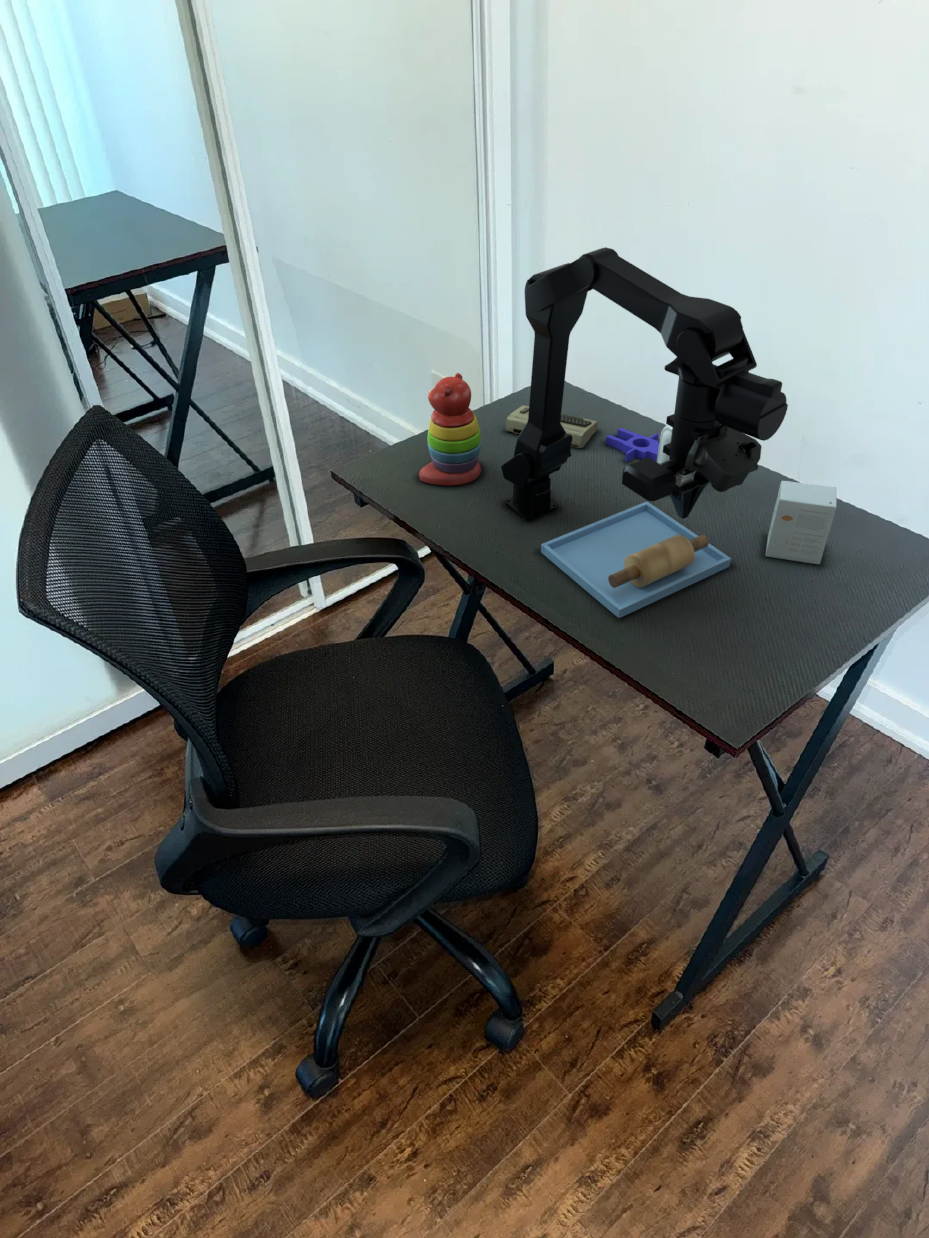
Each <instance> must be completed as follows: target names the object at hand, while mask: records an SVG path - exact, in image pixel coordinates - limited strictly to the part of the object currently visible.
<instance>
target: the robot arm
mask: <svg viewBox="0 0 929 1238" xmlns="http://www.w3.org/2000/svg"><path fill="white" fill-rule="evenodd" d="M592 290H594V291H596V292H597V293H598V294H601V295H602V296H603V297H605V298H607V299H608V300H610V301H611V302H613V303H614V304H616V305H617V306H619V307H621V308H623V310H625V311H627V312H629V313H630V314H632V315H633V316H635V317H636V318H638V319H639V320H641V321H643V322H644V323H646V324H647V325H649V326H651V327H652V328H654V329H655V330H656V331H657V332H658V333H659V334H660V335H661V337H662V340H663V342H664V345H665V347H666V348H667V349H668V350H669V351H670V352H671V353H672V354H673V355H674V356H675V358H674V359H673V360H672V361H671V362H668V363H667V364H665V365H664V367H663V368H664V371H666V372H668V373H670V374H673V375H676V376H678V379H677V380H678V381H677V389H676V397H675V404H674V405H675V406H674V413H673V414H672V413H671V414H670V415H667V416H666V420H665V425H666V426H667V425H669V426H671V427H673V428H672V436H671V443H669V444H666V445H663V453H665V454H666V455H668V456H670V458H669V459H670V460H668V461H665V462H662V463H660V464H659V463H657V462H656V461H654V460H652V459H651V458H649V457H648V458H646V459H643V460H642V459H639V460H638V461H636V462H633V463H630V464H628V465H626V466H625V467H624V468H622V469H623V470H622V478H621V485H623V486H624V487H626V488H627V489H628V490H630V491H632V492H633V493H635V494H637V495H638V496H640V497H641V498H643V499H644V500H646V502H656V501H659V500H661V499H663V498H666V497H668V496H669V497H670V500H671V502H672V504H673V507H674V509H675V512H676V515H677V516H678V517H679V518H680V519H681V520H684V519H688V517H689V515H690V514H691V512H692V510H693V508H694V507H695V505H696V503H697V502H698V500H699V498H700V496H701V495H702V493H703V492H704V490H705V488H706V487H707V486H708V484H710V485H711V488H712V489H713V490H715V491H716V492H719V493H725V492H727V491H728V490H730V489H732V488H734V487H736V486H741V485H743V484H744V482H745V480H746V479H747V477H748V476H749V474H751V473H753V472H755V471H758V469H759V462H760V461H761V457H762V456H761V455H762V444H761V443H759V441H763V442H765V441H768V440H770V438H773V436H774V435H775V434H776V433H777V432H778V430H779V429H780V427H781V426H782V424H783V422H784V419H785V418H786V415H787V411H788V408H789V407H788V406H789V404H788V403H787V402H788V401H787V395H786V393H784V392H782V388H783V382H782V381H781V380H778V379H775V378H767V377H764V376H760V375H758V374H755V373H752V372H750V371H752V370H753V369H755V368H757V367H758V363H757V361H756V358H755V356H754V354H753V351H752V348H751V346H750V343H749V341H748V338H747V336H746V333H745V330H744V326H743V322H742V315H741V314H740V313H739V311H738V310H736V309H735V308H734V307H732V306H731V305H728V304H725V303H723V302H719V301H717V300H714V299H711V298H706V297H699V296H690V295H687V294H684V293H681V292H680V291H678V290H676V289H674V288H673V287H672V286H669V285H668V284H666V283H664V282H663V281H662V280H660V279H658V278H656V277H654V276H653V275H651V274H650V273H648V272H646V271H644V270H642V269H641V268H639V267H638V266H636V265H635V264H633V263H631V262H630V261H628V260H626V259H624V258H623V257H621V256H619V254H618V252H617V251H616V250H615V249H614V248H610V247H606V246H605V247H601V248H598V249H595V250H592V251H589V252H586V253H583V254H582V255H580V256H579V258H577V259H575V260H573V261H572V262H567V263H564V264H563V263H562V264H561V265H558V266H555V267H552V268H548V269H546V270H543V271H540V272H537V273H534V274H533V275H532V276H530V277H529V278H528V279H527V280H526V282H525V284H524V308H525V309H524V311H525V317H526V319H527V321H528V322H529V324H530V326H531V328H532V330H533V332H534V333H533V334H534V338H533V351H532V365H531V376H530V378H531V379H530V390H529V391H530V392H529V402H528V403H529V405H528V406H529V416H528V421H527V423H526V425H525V427H524V428H523V430H522V432H521V431H520V434H518V436H517V438H516V443H515V448H514V452H513V456H512V457H511V459H509V460H507V461H506V462H504V464H502V465H501V466H500V468H501V469H500V470H501V473H502V477H503V479H504V480H506V481H508V482H509V483H511V484H512V497H511V498H508V499H506V500H505V505H507V507H509V508H510V509H511V510H513V511H514V513H516V514H517V515H519V516H520V517H521V518H522V519H523V520H525V521H528V520H529V521H530V520H532V519H534V518H537V517H540V516H542V515H545V514H547V513H550V512H553V511H555V510H557V509H558V505H557V504H556V503H555V502H553V501H552V489H551V482H552V478H550V475H551V474H553V473H555V472H559V471H561V468H562V466H563V465H564V464H566V463H567V461H568V459H569V458H571V457H572V452H571V451H572V449H571V447H572V446H571V443H572V439H573V438H572V435H570V434H567V433H566V431H565V430H564V428H563V426H562V425H561V422H560V420H561V414H562V409H563V400H564V391H565V380H566V373H567V372H566V371H567V364H568V363H567V362H568V353H569V345H570V336H571V333H572V331H573V330H574V328H575V326H576V324H577V323H578V321H579V319H580V317H582V315H583V311H584V309H585V304H586V300H587V297H588V294H589V293H588V292H590V291H592ZM728 355H730V356H731V359H729V360H727V361H725V362H723V363H721V364H719V365H716V364H714V363H713V362H715V361H717V360H719V359H721V358H723V357H725V356H728ZM757 440H759V441H757Z"/></svg>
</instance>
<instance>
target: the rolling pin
mask: <svg viewBox="0 0 929 1238" xmlns="http://www.w3.org/2000/svg"><path fill="white" fill-rule="evenodd" d="M697 536H698V537H696V538H693V539H691V540H688V539H687V538H686V537H685V536H683V535H675V536H673V537H670V538H668V539H666V540H664V541H661V542H659V543H657V544H654V545H652V546H650V547H647V548H645V549H643V550H640V551H638V552H636V553H634V554H631V555H629V556H627V557H626V559H625V562H624V568H625V569H623V570H620V571H618V572H616V573H614V574H611V575H609V577H608V581H609V584H610V585H611V586H612V587H613V588H616V587H619V586H621V585H623V584H625V583H628V582H631V583H632V584H633V585H635V586H636V587H644V586H646V585H648V584H650V583H653V582H655V581H657V580H659V579H661V578H664V577H666V576H668V575H670V574H672V573H675V572H677V571H679V570H681V569H683V568H686V567H688V566H690V565H691V564H692V563H693V562H694V558H695V553H694V552H697V551H699V550H701V549H703V548H706V547H707V546H708V544H710V543H709V539H708V537H707V536H706V535H705V534H699V535H697Z"/></svg>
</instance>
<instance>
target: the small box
mask: <svg viewBox="0 0 929 1238" xmlns="http://www.w3.org/2000/svg"><path fill="white" fill-rule="evenodd" d="M773 508H774V509H773V513H772V516H771V517H772V518H771V522H770V526H769V530H768V534H767V538H766V539H767V540H766V548H765V557H766V558H767V557H768V558H773V559H780V560H788V561H794V562H799V563H800V562H801V563H807V564H813V565H820V564H821V563H822V558H823V555H824V552H825V548H826V546H827V545H826V544H827V541H828V538H829V535H830V532H831V529H832V525H833V521H834V519H835V515H836V512H837V487H836V486H827V485H821V484H812V483H805V482H804V483H803V482H797V481H789V480H781V481H780V484H779V488H778V493H777V497H776V501H775V504H774V507H773Z"/></svg>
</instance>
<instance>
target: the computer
mask: <svg viewBox="0 0 929 1238" xmlns="http://www.w3.org/2000/svg"><path fill="white" fill-rule="evenodd" d="M528 416H529V405H525V404H523V405H521V406H520V407H518V408H517V409H516V410H513V411H512V412H511V413H510V414H509V415H508V416H507V417H506V421H505V432H511V433H512V434H516V435H520V433H521V432H522V430H523V428H524V427H525V425H526V423H527V421H528ZM560 422H561V425H562V426H563V428H564V430H565V431H566V433H567V434H570V435H572V438H573V439H572V443H571V447H572V448H577V449H582V448H584V447H585V446H586V445H587V443H588V442H589V441H590V439H591V438H592V437H593V435H594V434H595V433H596V432H597V431H598V425H599V424H598V421H597V420H593V419H588V418H583V417H578V416H574V415H570V414H565V413H561V420H560Z"/></svg>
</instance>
